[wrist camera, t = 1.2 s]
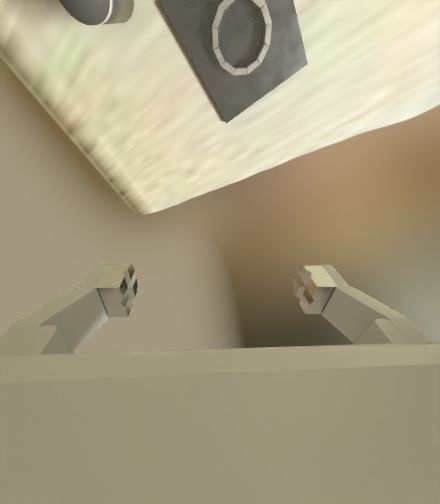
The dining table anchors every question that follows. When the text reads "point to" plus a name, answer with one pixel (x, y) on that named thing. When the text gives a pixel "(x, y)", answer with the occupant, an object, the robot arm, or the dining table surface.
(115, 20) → the grey peg
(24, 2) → the dining table surface
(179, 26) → the mount plate
